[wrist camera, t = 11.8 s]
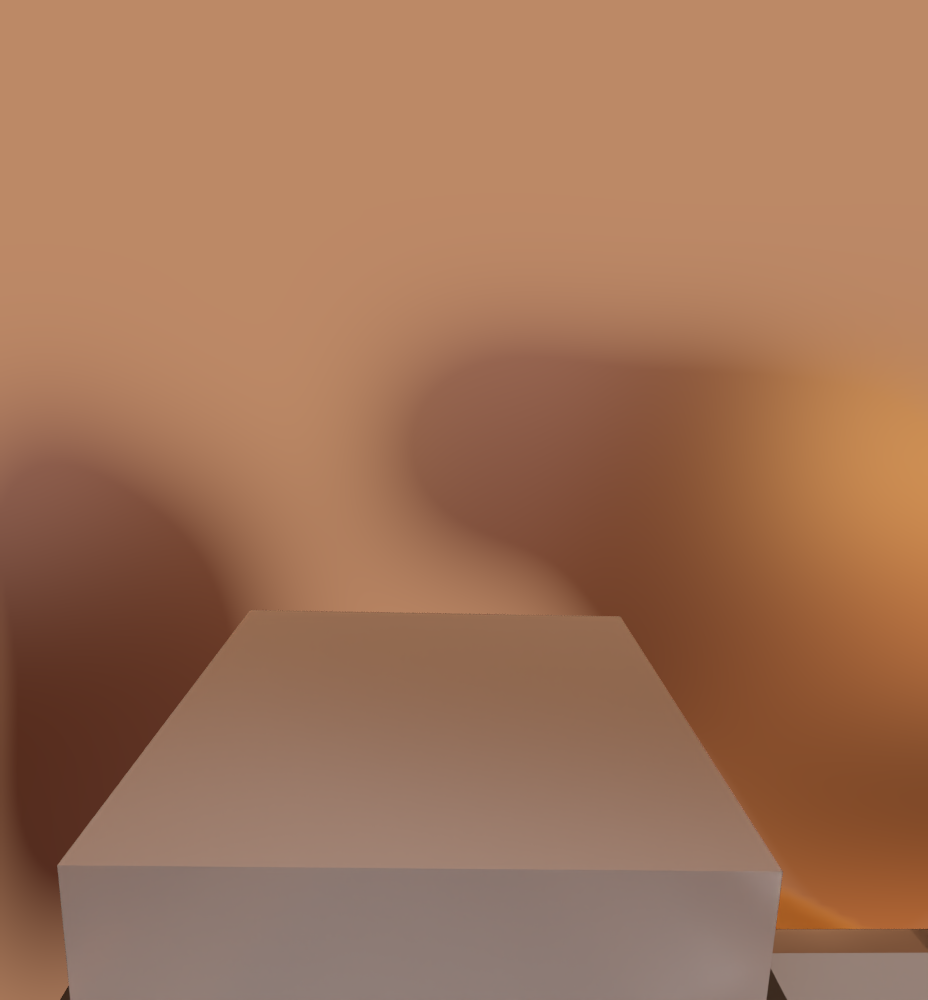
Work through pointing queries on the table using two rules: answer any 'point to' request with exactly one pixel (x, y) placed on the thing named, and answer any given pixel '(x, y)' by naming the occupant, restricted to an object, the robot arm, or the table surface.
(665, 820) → the granite block
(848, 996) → the trapdoor
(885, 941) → the frame
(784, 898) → the table surface
